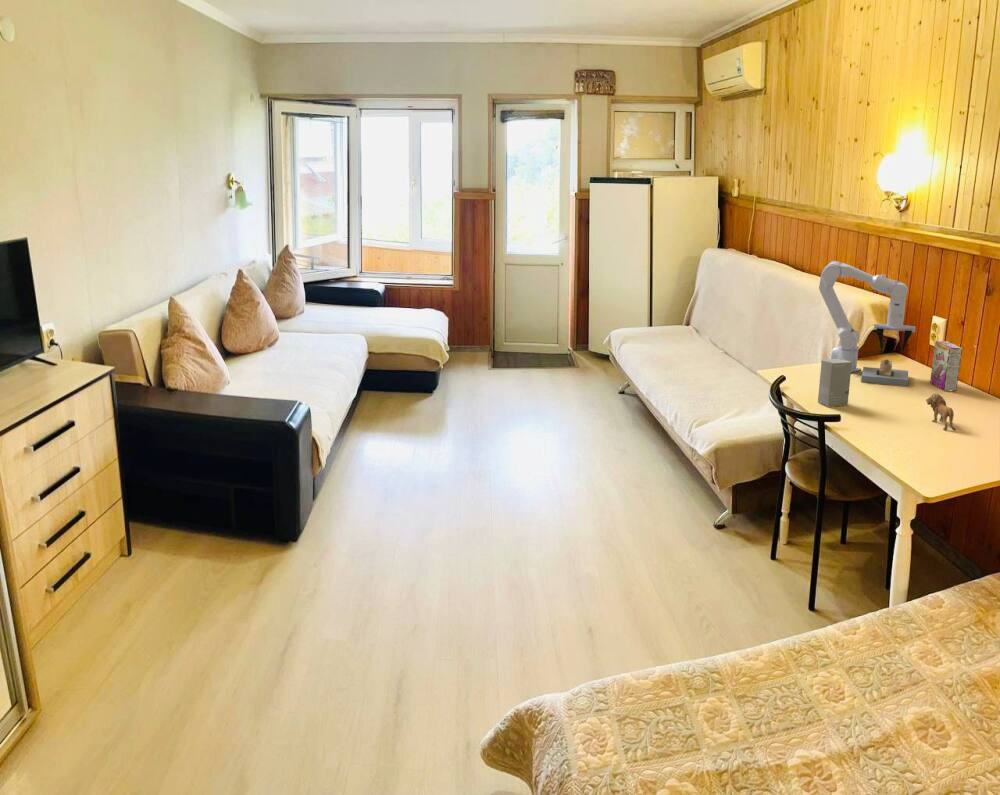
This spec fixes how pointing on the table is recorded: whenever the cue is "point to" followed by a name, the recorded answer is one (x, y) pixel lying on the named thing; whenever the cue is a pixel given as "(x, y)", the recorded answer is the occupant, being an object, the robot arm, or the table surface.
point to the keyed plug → (885, 368)
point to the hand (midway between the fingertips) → (891, 348)
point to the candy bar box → (946, 365)
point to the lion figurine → (941, 410)
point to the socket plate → (895, 379)
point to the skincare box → (834, 382)
